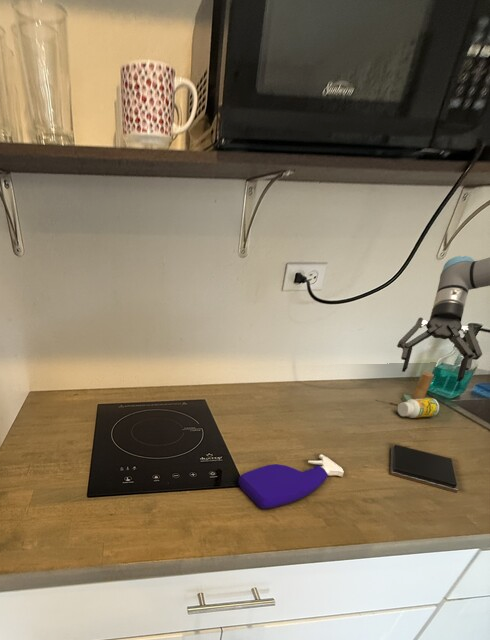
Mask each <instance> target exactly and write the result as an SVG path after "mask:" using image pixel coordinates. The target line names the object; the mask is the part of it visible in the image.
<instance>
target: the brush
mask: <svg viewBox="0 0 490 640" xmlns="http://www.w3.org/2000/svg"><path fill="white" fill-rule="evenodd" d="M434 377H435V374H434V373H432V372H428V371H423V372H422V373H421V375H420V376H419V380H418V382H417V385H416V387H415V390H414V392H413V394H412V395H411V394H402V396H401V401H402V402H406V401H408V400H410V399H424V398H429V397H427V396H426V395H427V393H428V391H429V389H430V386H431V384H432V381H433V380H434V379H433V378H434Z"/></svg>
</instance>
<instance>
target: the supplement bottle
mask: <svg viewBox="0 0 490 640" xmlns="http://www.w3.org/2000/svg"><path fill="white" fill-rule="evenodd" d="M439 412H440V404H439V402H438V401H437V399H435V398H432V397H428V398H424V399H410V400H408V401H406V402H403V401H402V402H400V403H399V404H398V405H397V413H398V415H399V416H400V417H407V418H409V419H416V418H417V419H418V418H431V417H434V416H436V415H437V414H438V413H439Z"/></svg>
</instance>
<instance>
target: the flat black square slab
mask: <svg viewBox="0 0 490 640" xmlns="http://www.w3.org/2000/svg"><path fill="white" fill-rule="evenodd" d="M389 455H390V456H389V457H390V459H389V460H390V461H389V462H390V463H389V464H390V465H389V475H390V476H392V477H393V476H394V477H396V478H400V479H404V480H407V481H411V482H416V483H419V484H422V485H427V486H430V487H433V488H437V489H441V490H443V491H449V492H451V493H455V494H456V493H458V491H459V486H458V481H457V477H456V472H455V468H454V463H453V459H452V458H451V457H446V456H443V455H439V454H435V453H431V452H426V451H422V450H418V449H414V448H410V447H406V446H403V445H402V446H401V445H398V444H394V445H391V447H390V454H389Z"/></svg>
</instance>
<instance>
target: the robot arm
mask: <svg viewBox="0 0 490 640" xmlns="http://www.w3.org/2000/svg"><path fill="white" fill-rule="evenodd" d="M485 287H490V257H485V258H483V259H479V260H475V259H474V258H473V257H471V256H468V255H464V256H462V255H458V256H454V257H452V258H450V259H448V260H447V261H446V262H445V263H444V265H443V268H442V270H441V272H440V275H439V283H438V286H437V291H436V294H435V297H434V301H433V304H432V308H431V313H430V317H429V320H426V319H424V318H423V317H418V319H417V320H416V323H415V324H414V325H413V326H412V327H411V328H410V330H409V331H407V332H406V334H405V335H404V336H403V337H401V339H400V340H399V341H398V343H397V345H396V347H397V348H401V349H402V353H401V356H400V359H401V360H403V361H404V362H403V365H402V369H401V372H402V373H405V372H406V371H407V369H408V368H409V363H410V359H411V355H412V351H413V347H415V346H416V345H418V344H420V343H422V342H423V341H424V340H426V339H428V338H430V337H431V336H432V337H433V338H434V339H441V340H449V342H450V343H452V344H453V345H454V347H455V348H456V350H458V351H459V353H460V354H461V356H462V359H461V361H460V364H459V365H460V366H459V370H458V374H457V378H456V382H459V383H460V382H461V381H463V379H464V378H465V374H466V371H468V370H470V368H471V367H472V364H473V360H474V361H477V360H479V359H480V358H481V357H482V356H483V352H482V349H481V347H480V344H479V341H478V339H477V336H476V334H475V331H474V330H475V325H474V324H473V323H470V324H468V325H462V319H463V315H464V311H465V307H466V301H467V297H468V294H469V291H470V290H475V289H480V288H485ZM423 327H426V330H425V331H424V332H422V333H420V334H419V335H417V336H416V337H415V338H413V339H411V338H412V337H413V336H414V335H415V333H417V332H418V330H419V329H422V328H423ZM460 331H461V332H462V334H463V335H464V338H465V340H464V339H463V338H462V336H461V333H460ZM410 339H411V340H410ZM465 341H466V342H465Z"/></svg>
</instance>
